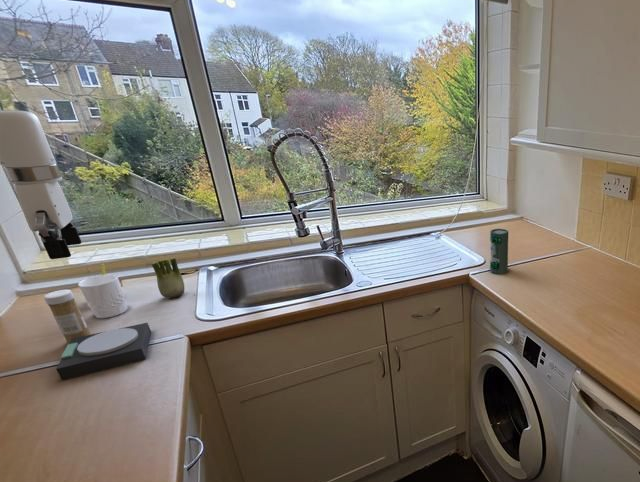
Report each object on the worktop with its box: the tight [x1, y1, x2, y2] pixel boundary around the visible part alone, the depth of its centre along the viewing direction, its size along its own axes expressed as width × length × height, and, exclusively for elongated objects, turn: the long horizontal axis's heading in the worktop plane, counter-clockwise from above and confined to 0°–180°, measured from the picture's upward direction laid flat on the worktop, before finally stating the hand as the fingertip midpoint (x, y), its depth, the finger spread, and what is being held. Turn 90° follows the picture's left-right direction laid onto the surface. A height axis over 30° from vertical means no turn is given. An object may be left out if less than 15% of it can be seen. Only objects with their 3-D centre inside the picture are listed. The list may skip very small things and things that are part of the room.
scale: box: [55, 322, 152, 381], centre depth 96 cm, size 14×14×4 cm
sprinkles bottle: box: [43, 289, 92, 345], centre depth 98 cm, size 5×5×13 cm
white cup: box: [77, 274, 129, 319], centre depth 112 cm, size 8×8×10 cm
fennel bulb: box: [151, 257, 185, 299], centre depth 121 cm, size 6×5×12 cm
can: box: [489, 228, 509, 275], centre depth 145 cm, size 6×6×15 cm
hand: (67, 250), depth 91 cm, fingers open, 9 cm apart
